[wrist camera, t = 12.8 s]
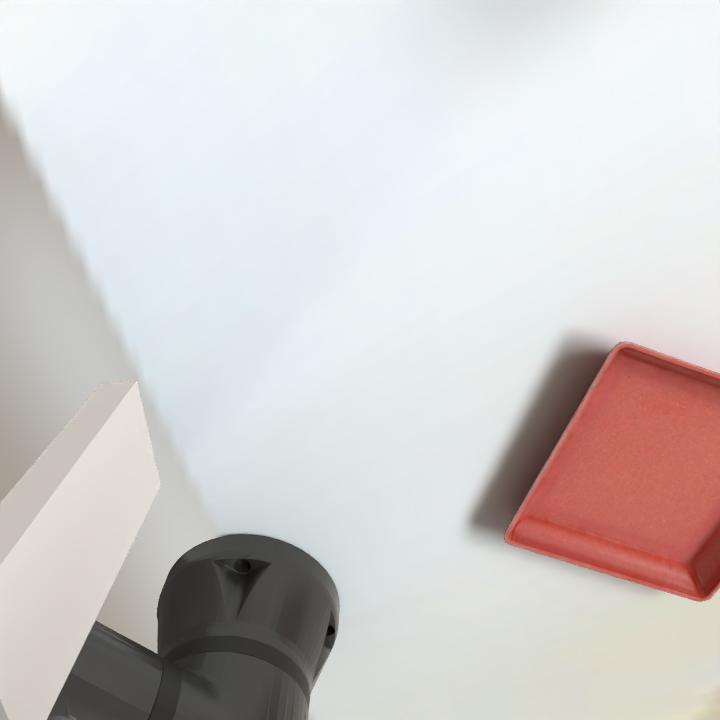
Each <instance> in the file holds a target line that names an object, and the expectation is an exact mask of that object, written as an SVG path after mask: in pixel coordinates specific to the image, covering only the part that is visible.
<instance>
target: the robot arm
mask: <svg viewBox="0 0 720 720" xmlns="http://www.w3.org/2000/svg"><path fill="white" fill-rule="evenodd" d="M160 487H161V484H160V479H159V475H158V471H157V467H156V462H155V458H154V453H153V449H152V444H151V440H150V436H149V431H148V427H147V423H146V418H145V414H144V410H143V405H142V401H141V397H140V392H139V388H138V384H137V380H135V381H119V382H103V383H101V384H100V386H99V387H98V388H97V389H96V390H95V391H94V393H93V394H92V395H91V396H90V397H89V399H88V400H87V401H86V402H85V403H84V404H83V406H82V407H81V408H80V409H79V411H78V412H77V413H76V414H75V415H74V416H73V417H72V419H71V420H70V421H69V422H68V423H67V425H66V426H65V427H64V428H63V429H62V431H61V432H60V433H59V434H58V435H57V436H56V438H55V439H54V440H53V441H52V442H51V443H50V445H49V446H48V447H47V448H46V449H45V451H44V452H43V453H42V454H41V455H40V456H39V458H38V459H37V460H36V461H35V462H34V464H33V465H32V466H31V467H30V468H29V469H28V471H27V472H26V473H25V474H24V475H23V477H22V478H21V479H20V480H19V481H18V482H17V484H16V485H15V486H14V487H13V488H12V490H11V491H10V492H9V493H8V494H7V496H6V497H5V498H4V499H3V500H2V501H1V503H0V720H308V711H309V702H310V694H311V691H312V689H313V687H314V685H315V683H316V681H317V679H318V677H319V675H320V673H321V671H322V669H323V666H324V664H325V662H326V660H327V658H328V656H329V654H330V652H331V650H332V648H333V645H334V643H335V640H336V636H337V632H338V623H339V597H338V592H337V589H336V587H335V584H334V582H333V580H332V579H331V577H330V575H329V574H328V573H327V571H326V570H325V569H324V568H323V567H322V566H321V565H320V564H319V563H318V562H317V561H316V560H315V559H314V558H313V557H311V556H310V555H309V554H307V553H306V552H304V551H302V550H301V549H299V548H297V547H295V546H293V545H291V544H288V543H286V542H283V541H280V540H277V539H273V538H269V537H264V536H257V535H230V536H224V537H219V538H215V539H212V540H209V541H206V542H203V543H201V544H199V545H197V546H195V547H193V548H192V549H190V550H189V551H188V552H186V553H185V554H184V555H182V556H181V558H179V559H178V561H177V562H176V563H175V564H174V566H173V567H172V569H171V570H170V572H169V574H168V576H167V579H166V582H165V584H164V587H163V589H162V592H161V594H160V598H159V602H158V608H157V618H158V654H156V653H154V652H153V651H151V650H149V649H147V648H145V647H143V646H141V645H140V644H138V643H136V642H134V641H132V640H130V639H128V638H126V637H125V636H123V635H121V634H119V633H117V632H115V631H113V630H112V629H110V628H108V627H106V626H104V625H103V624H101V623H99V622H97V621H96V617H97V616H98V614H99V612H100V610H101V608H102V605H103V604H104V602H105V599H106V597H107V595H108V593H109V591H110V589H111V587H112V585H113V583H114V581H115V579H116V577H117V575H118V573H119V571H120V569H121V567H122V565H123V563H124V561H125V559H126V556H127V555H128V552H129V550H130V548H131V546H132V544H133V542H134V540H135V538H136V536H137V534H138V532H139V530H140V528H141V526H142V524H143V522H144V520H145V518H146V515H147V514H148V512H149V510H150V507H151V505H152V503H153V501H154V499H155V497H156V495H157V493H158V491H159V489H160Z"/></svg>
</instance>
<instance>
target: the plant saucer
mask: <svg viewBox="0 0 720 720" xmlns="http://www.w3.org/2000/svg"><path fill="white" fill-rule="evenodd" d="M504 540H505V542H506V543H507V544H510V545H513V546H516V547H519V548H523V549H526V550H529V551H532V552H535V553H538V554H542V555H546V556H549V557H552V558H555V559H558V560H563V561H566V562H569V563H572V564H575V565H578V566H582V567H586V568H589V569H592V570H595V571H598V572H601V573H606V574H609V575H612V576H614V577H618V578H621V579H625V580H628V581H631V582H635V583H638V584H642V585H645V586H648V587H651V588H654V589H658V590H662V591H665V592H668V593H671V594H675V595H678V596H681V597H684V598H688V599H691V600H694V601H700V602H702V601H706V600H709V599H711V598H712V597H713V596H714V594H715V593H716V592H717V591H718V589H719V588H720V374H719V373H717V372H713V371H710V370H707V369H705V368H702V367H699V366H696V365H693V364H690V363H688V362H685V361H682V360H679V359H677V358H674V357H671V356H668V355H665V354H662V353H659V352H657V351H654V350H651V349H648V348H646V347H643V346H640V345H637V344H634V343H631V342H620V343H618V344H617V345H615V346H614V347H613V349H612V350H611V351H610V353H609V355H608V356H607V358H606V360H605V362H604V363H603V365H602V367H601V368H600V370H599V372H598V373H597V375H596V377H595V379H594V380H593V382H592V384H591V385H590V387H589V389H588V390H587V392H586V394H585V395H584V397H583V399H582V401H581V402H580V404H579V406H578V407H577V409H576V411H575V413H574V414H573V416H572V418H571V419H570V421H569V423H568V425H567V426H566V428H565V430H564V431H563V433H562V435H561V437H560V438H559V440H558V442H557V443H556V445H555V447H554V449H553V450H552V452H551V454H550V455H549V457H548V459H547V460H546V462H545V464H544V466H543V467H542V469H541V471H540V472H539V474H538V476H537V477H536V479H535V481H534V482H533V484H532V486H531V488H530V489H529V491H528V493H527V494H526V496H525V498H524V500H523V501H522V503H521V505H520V506H519V508H518V510H517V512H516V513H515V515H514V517H513V518H512V520H511V522H510V524H509V525H508V527H507V529H506V531H505V533H504Z"/></svg>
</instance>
